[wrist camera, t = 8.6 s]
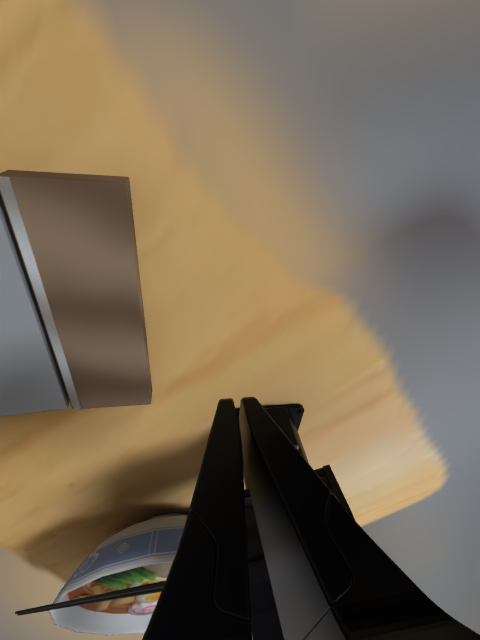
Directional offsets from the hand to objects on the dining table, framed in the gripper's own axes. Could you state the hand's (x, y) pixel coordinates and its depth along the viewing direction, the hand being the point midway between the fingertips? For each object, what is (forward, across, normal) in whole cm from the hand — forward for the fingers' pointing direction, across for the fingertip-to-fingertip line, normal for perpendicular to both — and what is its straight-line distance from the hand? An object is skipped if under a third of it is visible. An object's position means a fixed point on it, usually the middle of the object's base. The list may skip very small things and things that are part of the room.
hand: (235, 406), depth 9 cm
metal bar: (+12, +7, +4) cm, 14 cm away
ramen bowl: (+12, +4, +37) cm, 39 cm away
